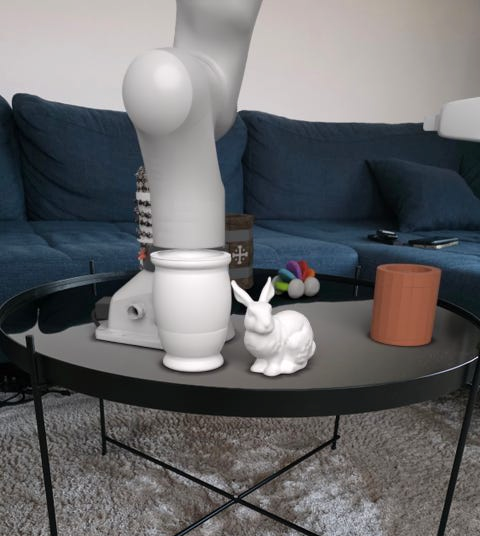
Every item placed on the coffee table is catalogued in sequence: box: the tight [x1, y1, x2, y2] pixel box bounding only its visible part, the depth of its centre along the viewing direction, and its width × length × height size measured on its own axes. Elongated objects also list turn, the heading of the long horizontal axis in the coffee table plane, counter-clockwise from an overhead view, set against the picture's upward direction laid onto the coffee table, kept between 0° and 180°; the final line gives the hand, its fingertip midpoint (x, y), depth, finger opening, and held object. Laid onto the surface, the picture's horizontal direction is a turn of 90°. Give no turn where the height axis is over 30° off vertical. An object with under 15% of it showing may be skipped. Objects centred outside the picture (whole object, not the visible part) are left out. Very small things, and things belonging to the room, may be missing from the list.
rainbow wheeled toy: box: [271, 259, 321, 300], centre depth 124 cm, size 8×10×7 cm
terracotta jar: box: [369, 263, 442, 347], centre depth 94 cm, size 10×10×11 cm
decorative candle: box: [132, 165, 153, 272], centre depth 115 cm, size 9×9×25 cm
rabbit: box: [231, 276, 317, 377], centre depth 80 cm, size 12×9×12 cm
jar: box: [150, 249, 232, 373], centre depth 80 cm, size 11×10×15 cm
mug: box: [225, 212, 255, 292], centre depth 132 cm, size 20×14×15 cm
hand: (445, 125), depth 81 cm, fingers open, 8 cm apart
